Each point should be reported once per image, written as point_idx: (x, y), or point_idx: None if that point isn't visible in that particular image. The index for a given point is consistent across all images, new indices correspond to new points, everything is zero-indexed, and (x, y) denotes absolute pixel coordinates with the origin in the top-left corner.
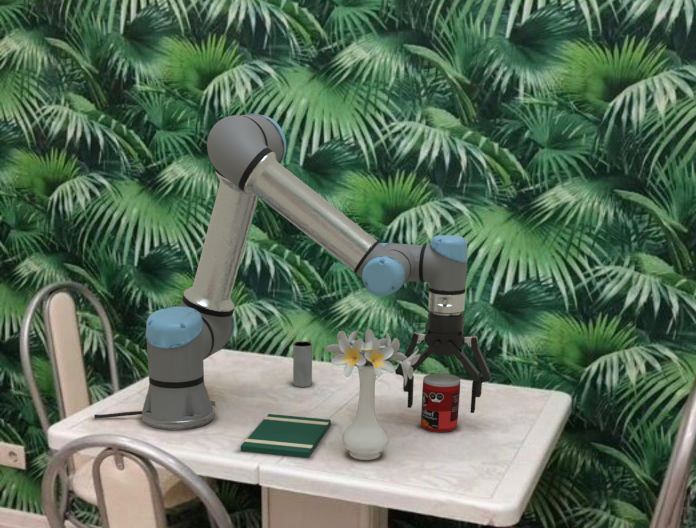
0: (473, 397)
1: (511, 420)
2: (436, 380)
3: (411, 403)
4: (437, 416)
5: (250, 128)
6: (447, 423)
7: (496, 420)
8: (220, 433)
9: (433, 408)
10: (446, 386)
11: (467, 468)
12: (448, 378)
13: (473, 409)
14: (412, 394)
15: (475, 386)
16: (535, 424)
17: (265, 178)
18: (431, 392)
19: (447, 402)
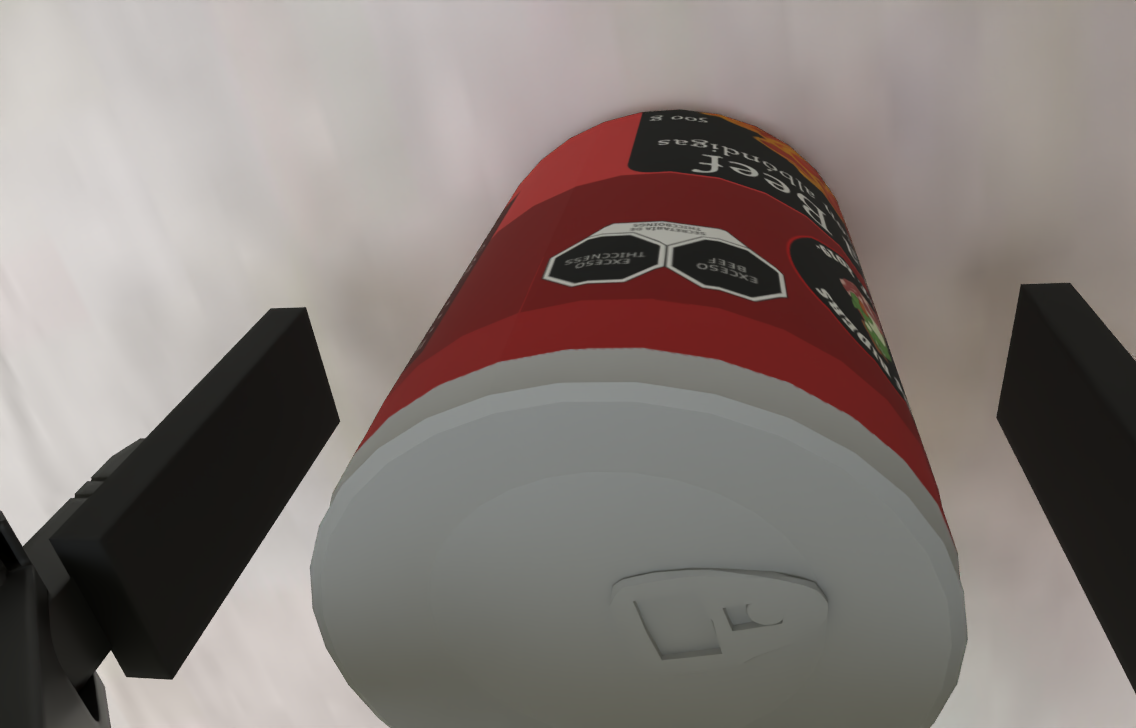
0: (190, 406)
1: None
2: (701, 578)
3: (1029, 346)
4: (648, 151)
5: None
6: (545, 165)
7: (284, 509)
8: None
9: (704, 189)
10: (467, 377)
11: None
12: (538, 704)
13: (259, 328)
14: (1053, 460)
15: (78, 509)
16: (36, 496)
17: None
18: (755, 301)
19: (505, 258)
